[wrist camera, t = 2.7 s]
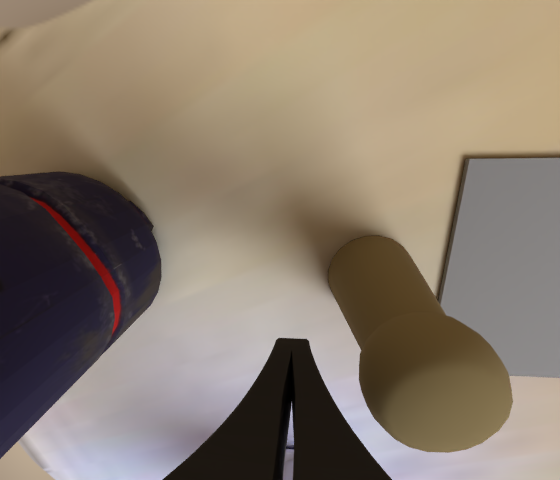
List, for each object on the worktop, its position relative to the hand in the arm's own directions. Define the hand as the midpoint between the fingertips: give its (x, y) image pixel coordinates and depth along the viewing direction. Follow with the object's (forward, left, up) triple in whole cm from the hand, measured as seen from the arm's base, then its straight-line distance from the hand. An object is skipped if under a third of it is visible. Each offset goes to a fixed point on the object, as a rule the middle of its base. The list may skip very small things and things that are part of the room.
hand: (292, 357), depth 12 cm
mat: (0, -16, -8) cm, 18 cm away
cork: (0, -5, -9) cm, 10 cm away
